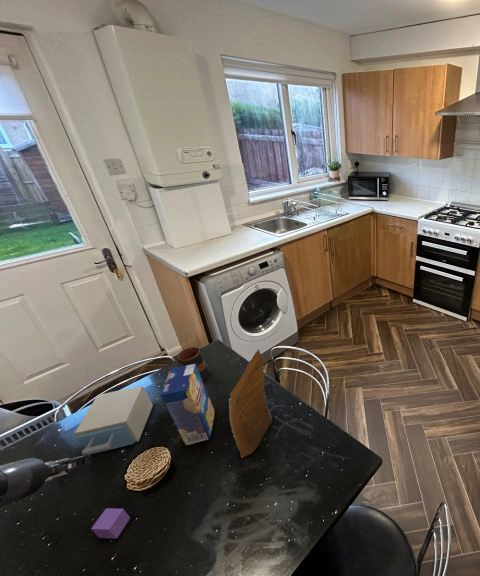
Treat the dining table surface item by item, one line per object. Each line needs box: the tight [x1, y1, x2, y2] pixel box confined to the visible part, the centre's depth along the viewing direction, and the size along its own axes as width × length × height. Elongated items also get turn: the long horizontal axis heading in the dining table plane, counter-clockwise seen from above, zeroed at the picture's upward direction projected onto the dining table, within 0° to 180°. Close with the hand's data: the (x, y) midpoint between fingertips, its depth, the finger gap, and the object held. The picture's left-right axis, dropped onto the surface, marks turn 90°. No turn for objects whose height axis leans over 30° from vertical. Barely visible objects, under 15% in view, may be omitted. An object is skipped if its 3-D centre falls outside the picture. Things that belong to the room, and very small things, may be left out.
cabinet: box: [74, 385, 154, 444], centre depth 98 cm, size 15×13×10 cm
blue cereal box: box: [159, 363, 216, 446], centre depth 95 cm, size 7×11×22 cm, turn 19°
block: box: [90, 507, 131, 539], centre depth 75 cm, size 4×4×4 cm
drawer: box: [76, 424, 136, 456], centre depth 95 cm, size 18×11×8 cm, turn 18°
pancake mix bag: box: [228, 348, 273, 459], centre depth 92 cm, size 7×19×28 cm, turn 169°
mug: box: [174, 346, 210, 382], centre depth 116 cm, size 9×12×12 cm
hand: (67, 464), depth 76 cm, fingers open, 8 cm apart
